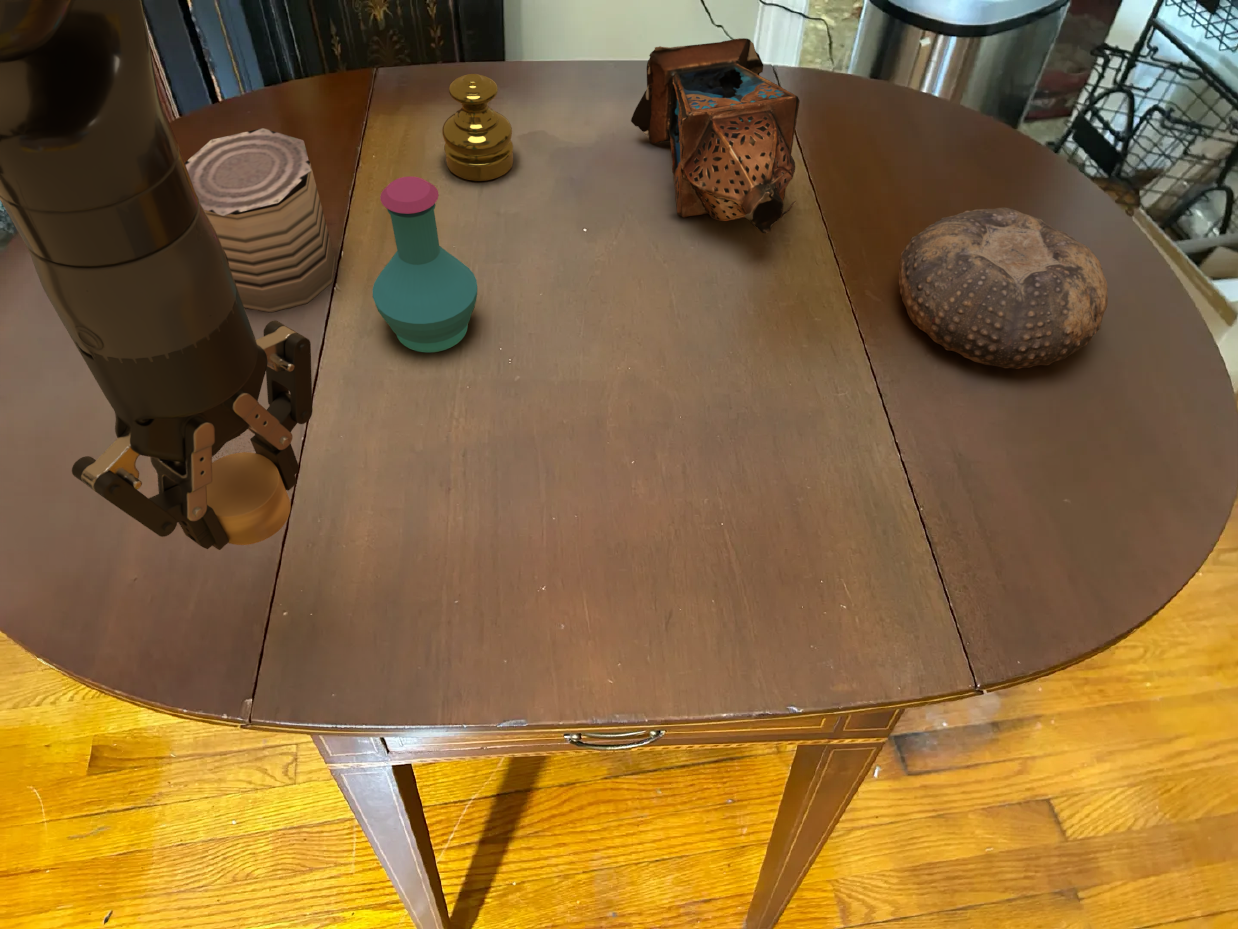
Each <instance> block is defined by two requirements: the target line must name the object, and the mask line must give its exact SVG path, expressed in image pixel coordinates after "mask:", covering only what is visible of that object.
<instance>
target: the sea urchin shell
mask: <svg viewBox="0 0 1238 929" xmlns="http://www.w3.org/2000/svg"><path fill="white" fill-rule="evenodd" d="M898 261H899V262H898V266H899V272H898V287H899V294H900V296H901V301H902V303H903V305H904V307H905V308H906V312H907V315H908V317H909V319H910V321H912V323H913V325H915V326H917V328H918V329H919V330H921V331H922V332H924V333H925V334H927V335H928V337H929V338H930V339H931V340H932V341H933V342H934V343H936V344H938V345H940V346H942V347H943V349H945V351H949V352H951V351H952V352H955V353H957V354H960V355H961V356H962V357H963V358H966V359H969V360H971V361H972V362H975V363H978V364H982V365H986V366H994V367H998V368H1004V369H1016V370H1020V369H1026V368H1032V367H1034V366H1049V365H1051V364H1053V363H1055V362H1058V361H1062V360H1065V359H1066V358H1068V357H1069V356H1071V355H1073V354H1074V353H1075V352H1077V351H1078V350H1079V349H1081V348H1083V347H1085V346H1087V344H1088V343H1089V342H1091V341H1092V338H1093V337H1094V335H1096V334H1097V333H1098V332H1099V330H1100V329H1101V325H1102V323H1103V322H1102V321H1103V318H1104V315H1105V312H1106V310H1107V307H1108V303H1109V296H1108V289H1109V288H1108V282H1107V279H1106V277H1105V276H1104V275H1105V274H1104V272H1103V268H1102V265H1101V262H1100V260H1099V259H1098V258H1097V257H1096V255H1095V254H1094V252H1093V251H1092V250H1091V249H1090V248H1089V246H1087V245H1085V244H1083V243H1081V242H1080V241H1079V240H1077V239H1076V238H1074V237H1073V236H1071V235H1070V234H1068V232H1067V231H1061V230H1060V229H1057V228H1055V227H1052V226H1051V225H1050V224H1049V223H1046V222H1045V221H1043V220H1042V219H1041V218H1039V217H1035V216H1033V215H1031V214H1026V213H1023V212H1020V211H1018V210H1016V209H1014V208H1009V207H997V208H981V209H977V208H976V209H974V210H965V211H964V212H960V213H958V214H955V215H950V216H947V217H946V216H945V217H941V218H940V220H937V221H935V222H934V223H932V224H929V225H928V226H927V227H926V228H924V230H923V231H921V232H919V233H918V234H916V235H914V236H912V237H911V238H910V241H909V242H908V243H907V244H906V246H905V247H904V249H903V251H901V253H900V257H899V260H898Z"/></svg>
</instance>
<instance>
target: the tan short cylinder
mask: <svg viewBox="0 0 1238 929" xmlns="http://www.w3.org/2000/svg"><path fill="white" fill-rule="evenodd" d="M206 487H207V505H208V506H210V507H211V508H213V510H214V512H215V514H216V516H217V518H218V520H219V522H220V524H221V526H222V528H223V530H224V532H225V534H226V536H227V538H228V539H229V543H228V544H230V545H235V546H248V545H254V544H257V543H261V542H263V541H266V540H267V539H270V538H272V537H273V536H274V535H275V534H277V533H278V532H279V531H280V530H281V529H282V528H283V527H284V526H285V524H286V523H287V521H288V519H289V516H290V513H291V509H292V508H291V504H292V503H291V498H290V497H289V494H288V491H287V490H286V489H285V486H284V484H283V481H282V479H281V476H280V474H279V471H278V469H277V467H276V465H275V464H274V463H273V462H272V461H271V460H269V459H268V458H266V457H265V456H263V455H260V454H256V452H250V451H249V452H247V451H245V452H243V451H242V452H235V453H230V454H227V455H224V456H222V457H219V458H218V459H215V460H214V461H212V483H211V484H209V485H207V486H206Z"/></svg>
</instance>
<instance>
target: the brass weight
mask: <svg viewBox="0 0 1238 929" xmlns="http://www.w3.org/2000/svg"><path fill="white" fill-rule="evenodd" d="M498 91H499V88H498V84H497V82H496V81H494V80H493V79H492V78H490V77H489V76H485V75H483V74H478V73H468V74H465V75H461V76H459V77H457V78H455V79H454V80H452V81H451V83H450V84H449V86H448V93H449V95H450V97H451V98H452V99H453V100H454V101H455V102H457V103H459V104H460V105H461V107H460V109H458V110H457V111H456V112H455V113H453V114H451V115H450V116H449V117H448V118H446V120H445V121H444V123H443V125H442V129H441V134H442V137H443V142H444V147H443V148H444V149H443V150H444V153H445V160H446V166H447V168H448V170H449V171H450V172H451V173H452V174H453V175H455V176H456V177H458V178H461V179H464V180H467V181H471V182H472V181H473V182H485V181H491V180H496V179H497V178H500V177H502V176H504V175H505V174H507V173H508V172H509V171H510V170H511V168H512V166H513V164H514V154H513V153H514V152H513V149H514V144H513V141H512V137H513V136H512V135H513V127H512V125H511V123H510V120H508V119H507V117H506V116H504V115H503V114H501V113H500V112H498V111H496V110H494V109H493V108H491V107H489V106H488V104H489V103H490V102H491V101H492V100H494V99H495V98H496V97H497V95H498Z"/></svg>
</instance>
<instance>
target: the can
mask: <svg viewBox="0 0 1238 929" xmlns="http://www.w3.org/2000/svg"><path fill="white" fill-rule="evenodd" d="M308 156H309V155H308V152H307V148H306V145H305V141H304V140H303V139H300V138H297V137H294V136H291V135H287V134H283V133H281V132H278V131H274V130H270V129H268V128H265V127H264V128H263V127H261V128H257V129H253V130H248V131H243V132H240V133H239V132H238V133H235V134H231V135H227V136H226V135H225V136H221V137H218V138H212V139H210V140H209V141H208V142H207V143H206V144H205V145H203V146H202V147H201V148H200V149H199V150H198V151H197V152H195V153H194V154H193V155H191V157H190V158H189V159H188V160H186V161H184V162H185V165H186V168H187V170H188V173H189V176H190V179H191V181H192V184H193V187H194V189H195V192H196V194H197V197H198V199H199V201H200V203H201V205H202V207H203V209H204V211H205V213H206V215H207V216H208V218H209V220H210V222H211V223H212V225H213V227H214V229H215V231H216V233H217V236H218V238H219V240H220V243H221V245H222V248H223V250H224V251H225V253H226V255H227V258H228V262H229V267H230V270H231V273H232V275H233V278H234V281H235V284H236V286H237V289H238V292H239V295H240V297H241V300H242V303H243V306H244V309H249V310H255V311H260V312H266V313H274V312H277V311H282V310H285V309H289V308H294V307H298V306H301V305H306V304H308V303H310V302H311V301H312V300H313V299H315V298H316V297H317V296H319V295H320V293H322V292H323V291H324V290H325V289H327V288H328V287H329V286H330V285H331V284H333V281H334V272H335V264H336V256H335V252H334V248H333V244H332V241H331V236H330V234H329V229H328V225H327V221H326V218H325V214H324V210H323V206H322V203H321V199H320V195H319V190H318V187H317V184H316V179H315V175H314V172H313V167H312V164H311V162H310V160H309V157H308Z"/></svg>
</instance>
